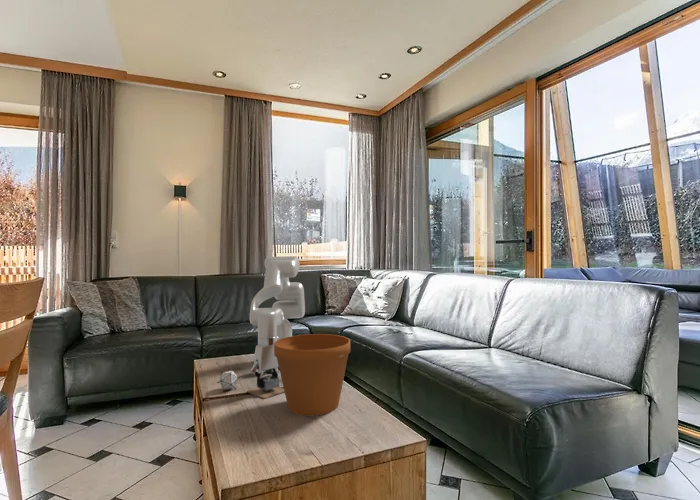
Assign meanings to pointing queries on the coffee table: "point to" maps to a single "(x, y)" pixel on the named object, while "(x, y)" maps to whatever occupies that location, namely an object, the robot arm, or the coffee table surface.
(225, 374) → the game die
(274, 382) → the link
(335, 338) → the flowerpot
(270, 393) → the tan piece
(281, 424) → the coffee table surface
